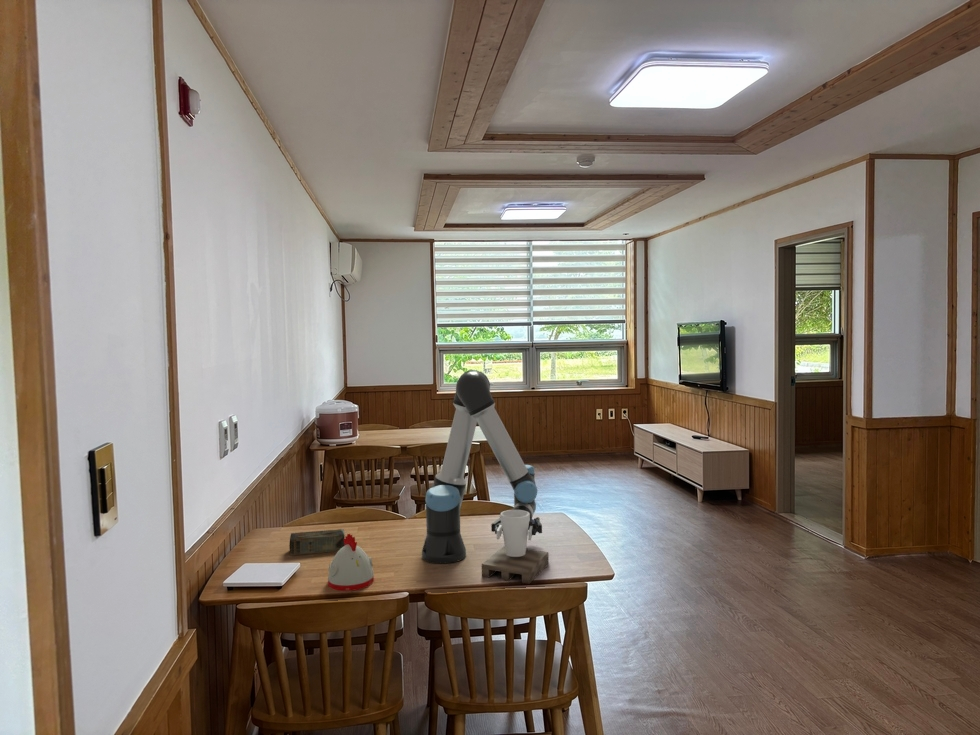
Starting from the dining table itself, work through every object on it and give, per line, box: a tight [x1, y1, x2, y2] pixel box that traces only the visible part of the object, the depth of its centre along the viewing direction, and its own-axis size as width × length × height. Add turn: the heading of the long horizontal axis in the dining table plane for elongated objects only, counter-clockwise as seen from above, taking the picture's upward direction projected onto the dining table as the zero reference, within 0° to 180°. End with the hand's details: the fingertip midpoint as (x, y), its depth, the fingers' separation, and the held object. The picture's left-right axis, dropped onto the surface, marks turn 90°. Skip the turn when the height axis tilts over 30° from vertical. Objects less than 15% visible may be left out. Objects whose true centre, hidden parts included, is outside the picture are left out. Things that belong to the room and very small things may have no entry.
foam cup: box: [499, 509, 530, 557], centre depth 202 cm, size 10×9×13 cm
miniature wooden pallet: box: [481, 545, 549, 585], centre depth 203 cm, size 18×16×4 cm
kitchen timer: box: [327, 533, 375, 592], centre depth 195 cm, size 14×14×15 cm
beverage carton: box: [288, 528, 346, 557], centre depth 226 cm, size 8×19×7 cm, turn 106°
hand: (513, 535), depth 198 cm, fingers closed on foam cup, 9 cm apart
